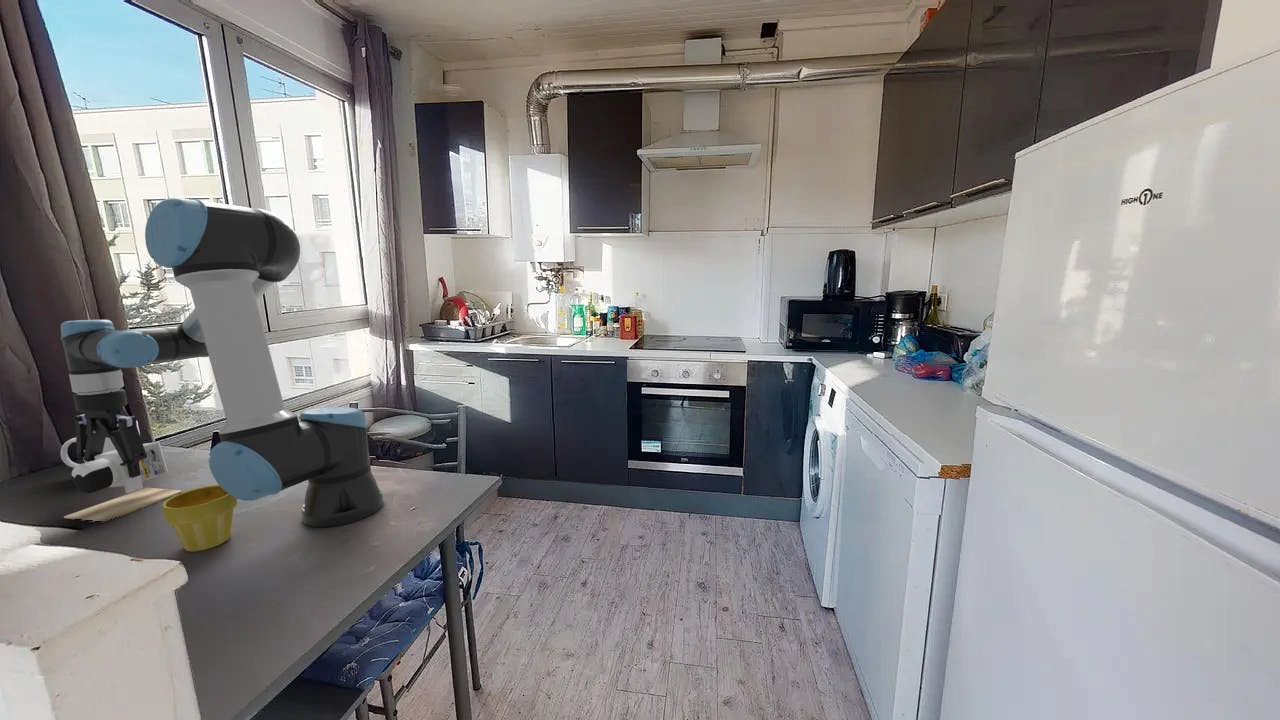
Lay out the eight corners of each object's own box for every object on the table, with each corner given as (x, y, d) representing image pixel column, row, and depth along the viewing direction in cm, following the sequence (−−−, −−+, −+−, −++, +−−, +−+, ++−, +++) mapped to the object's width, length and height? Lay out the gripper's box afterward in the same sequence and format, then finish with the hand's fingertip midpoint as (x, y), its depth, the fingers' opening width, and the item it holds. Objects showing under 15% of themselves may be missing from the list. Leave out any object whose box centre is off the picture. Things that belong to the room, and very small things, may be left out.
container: (169, 472, 112) (99, 496, 100) (144, 475, 114) (72, 498, 101) (159, 441, 111) (87, 461, 99) (134, 444, 113) (60, 464, 100)
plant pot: (164, 564, 84) (155, 513, 83) (176, 540, 93) (167, 493, 91) (239, 545, 90) (232, 497, 89) (244, 524, 99) (237, 479, 97)
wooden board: (183, 492, 114) (183, 490, 114) (103, 522, 100) (103, 520, 100) (146, 489, 116) (146, 487, 116) (63, 518, 102) (63, 516, 102)
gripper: (159, 389, 105) (175, 485, 108) (84, 385, 108) (102, 478, 112) (116, 396, 97) (135, 500, 101) (38, 392, 101) (58, 492, 105)
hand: (117, 488), depth 106 cm, fingers closed on container, 8 cm apart
